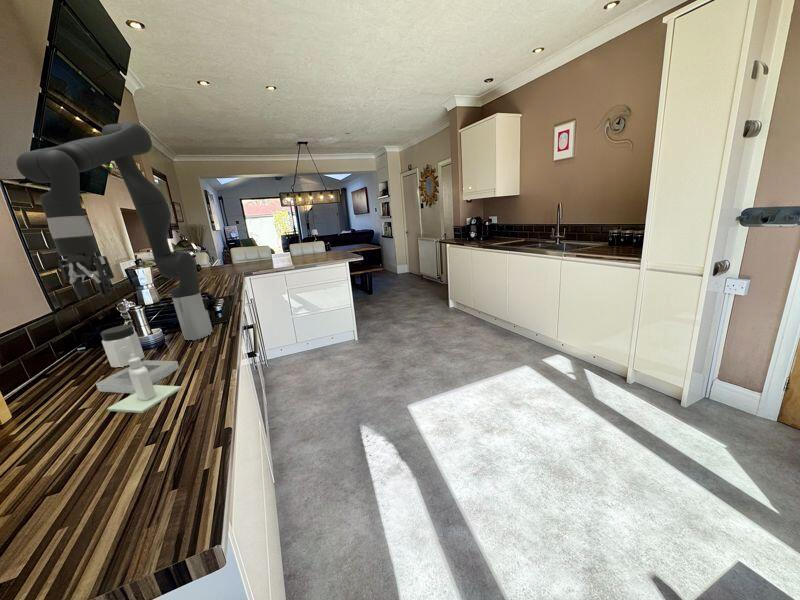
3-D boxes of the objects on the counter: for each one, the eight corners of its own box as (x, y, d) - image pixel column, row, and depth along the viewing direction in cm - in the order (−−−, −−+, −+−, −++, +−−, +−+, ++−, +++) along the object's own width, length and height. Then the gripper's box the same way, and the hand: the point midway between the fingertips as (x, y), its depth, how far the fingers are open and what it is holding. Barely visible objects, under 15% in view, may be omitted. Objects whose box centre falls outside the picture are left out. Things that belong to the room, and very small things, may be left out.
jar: (112, 371, 103) (99, 336, 99) (110, 363, 108) (98, 330, 105) (146, 360, 108) (135, 327, 105) (143, 354, 114) (132, 322, 111)
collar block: (145, 367, 103) (143, 360, 102) (180, 368, 100) (178, 361, 99) (97, 391, 90) (94, 383, 89) (136, 393, 87) (133, 385, 86)
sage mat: (149, 386, 90) (149, 384, 90) (181, 388, 87) (181, 386, 87) (107, 410, 79) (106, 408, 79) (142, 413, 77) (141, 411, 77)
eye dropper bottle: (134, 404, 80) (118, 360, 77) (138, 394, 85) (123, 353, 81) (155, 398, 82) (141, 355, 79) (158, 389, 87) (144, 348, 83)
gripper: (109, 232, 84) (129, 292, 88) (70, 236, 87) (91, 293, 92) (76, 234, 77) (99, 299, 81) (34, 239, 80) (59, 301, 85)
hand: (95, 296), depth 87 cm, fingers open, 8 cm apart
